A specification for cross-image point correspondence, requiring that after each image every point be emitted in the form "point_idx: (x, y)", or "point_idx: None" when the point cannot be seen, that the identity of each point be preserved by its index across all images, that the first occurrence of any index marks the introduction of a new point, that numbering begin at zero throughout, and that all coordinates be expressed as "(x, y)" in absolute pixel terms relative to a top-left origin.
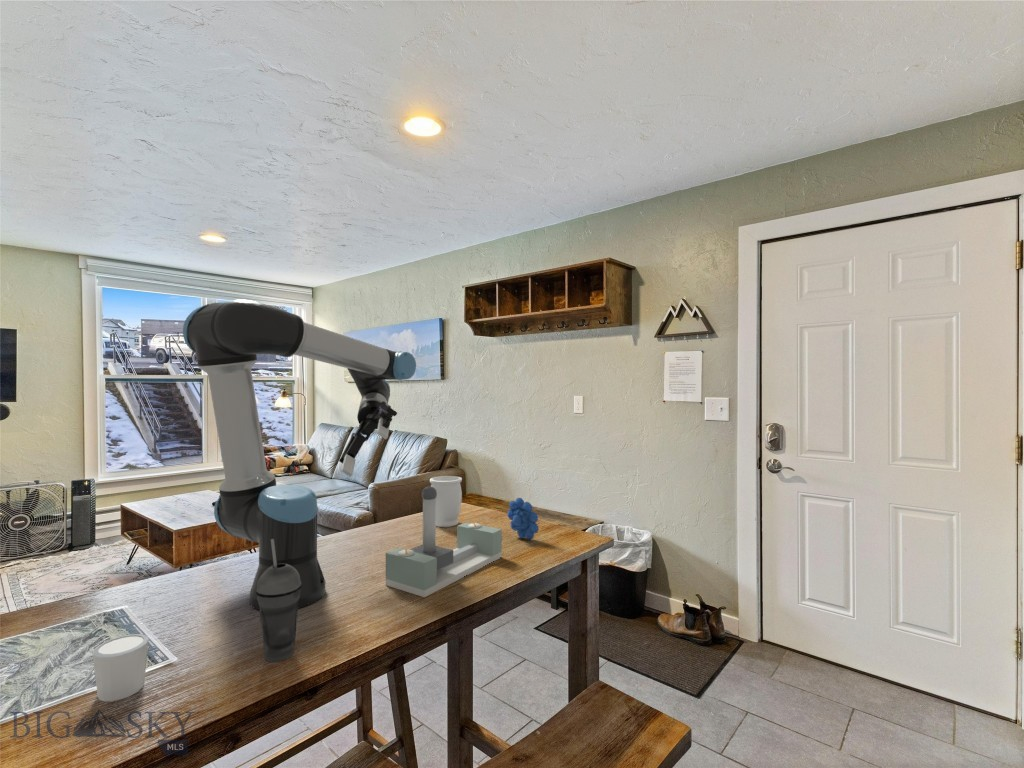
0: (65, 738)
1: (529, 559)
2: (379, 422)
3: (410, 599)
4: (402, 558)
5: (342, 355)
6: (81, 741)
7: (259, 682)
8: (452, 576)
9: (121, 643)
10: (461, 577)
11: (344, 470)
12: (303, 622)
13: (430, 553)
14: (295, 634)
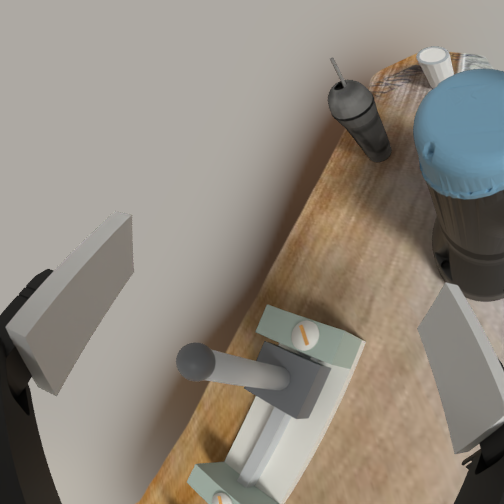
0: (416, 62)
1: (192, 466)
2: (53, 284)
3: (311, 307)
4: (307, 318)
5: None
6: (406, 65)
7: None
8: None
9: (435, 55)
10: None
11: (442, 293)
12: (407, 200)
13: (274, 364)
14: (362, 149)
